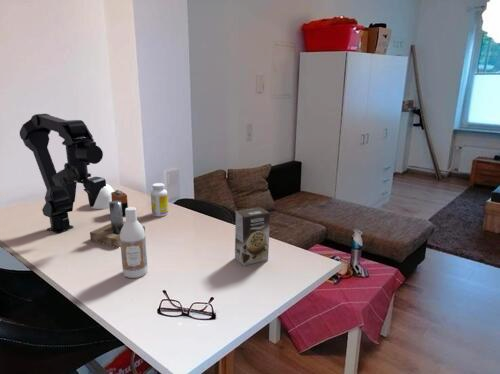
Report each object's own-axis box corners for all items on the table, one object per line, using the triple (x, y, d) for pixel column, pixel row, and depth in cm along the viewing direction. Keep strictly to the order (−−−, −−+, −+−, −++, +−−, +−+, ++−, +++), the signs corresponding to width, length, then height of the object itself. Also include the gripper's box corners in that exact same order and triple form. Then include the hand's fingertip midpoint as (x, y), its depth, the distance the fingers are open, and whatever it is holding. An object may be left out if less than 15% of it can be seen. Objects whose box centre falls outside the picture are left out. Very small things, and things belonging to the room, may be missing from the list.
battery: (118, 217, 152) (116, 194, 149) (112, 213, 157) (110, 190, 154) (129, 215, 154) (127, 192, 151) (123, 210, 159) (121, 188, 156)
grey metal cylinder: (109, 238, 133) (106, 203, 129) (118, 233, 137) (115, 199, 133) (118, 240, 131) (115, 205, 128) (126, 236, 135) (123, 201, 131)
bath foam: (122, 280, 106) (116, 213, 101) (124, 268, 113) (118, 205, 107) (147, 277, 108) (143, 212, 102) (148, 266, 114) (143, 203, 109)
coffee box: (243, 266, 115) (243, 217, 110) (234, 257, 120) (234, 210, 116) (269, 260, 119) (270, 212, 114) (259, 252, 124) (260, 206, 120)
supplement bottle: (170, 211, 159) (169, 182, 155) (165, 217, 153) (164, 187, 149) (155, 211, 160) (153, 181, 156) (149, 216, 153) (147, 186, 150)
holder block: (90, 240, 131) (89, 232, 130) (118, 227, 142) (118, 219, 141) (118, 248, 126) (117, 239, 125) (145, 234, 137) (144, 226, 136)
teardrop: (98, 200, 172) (95, 174, 169) (121, 201, 171) (119, 176, 167) (85, 208, 162) (82, 181, 158) (109, 210, 160) (107, 183, 157)
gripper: (35, 160, 120) (42, 207, 125) (75, 168, 112) (81, 217, 117) (65, 154, 130) (71, 197, 134) (105, 160, 122) (109, 206, 126)
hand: (82, 204), depth 128 cm, fingers open, 9 cm apart
